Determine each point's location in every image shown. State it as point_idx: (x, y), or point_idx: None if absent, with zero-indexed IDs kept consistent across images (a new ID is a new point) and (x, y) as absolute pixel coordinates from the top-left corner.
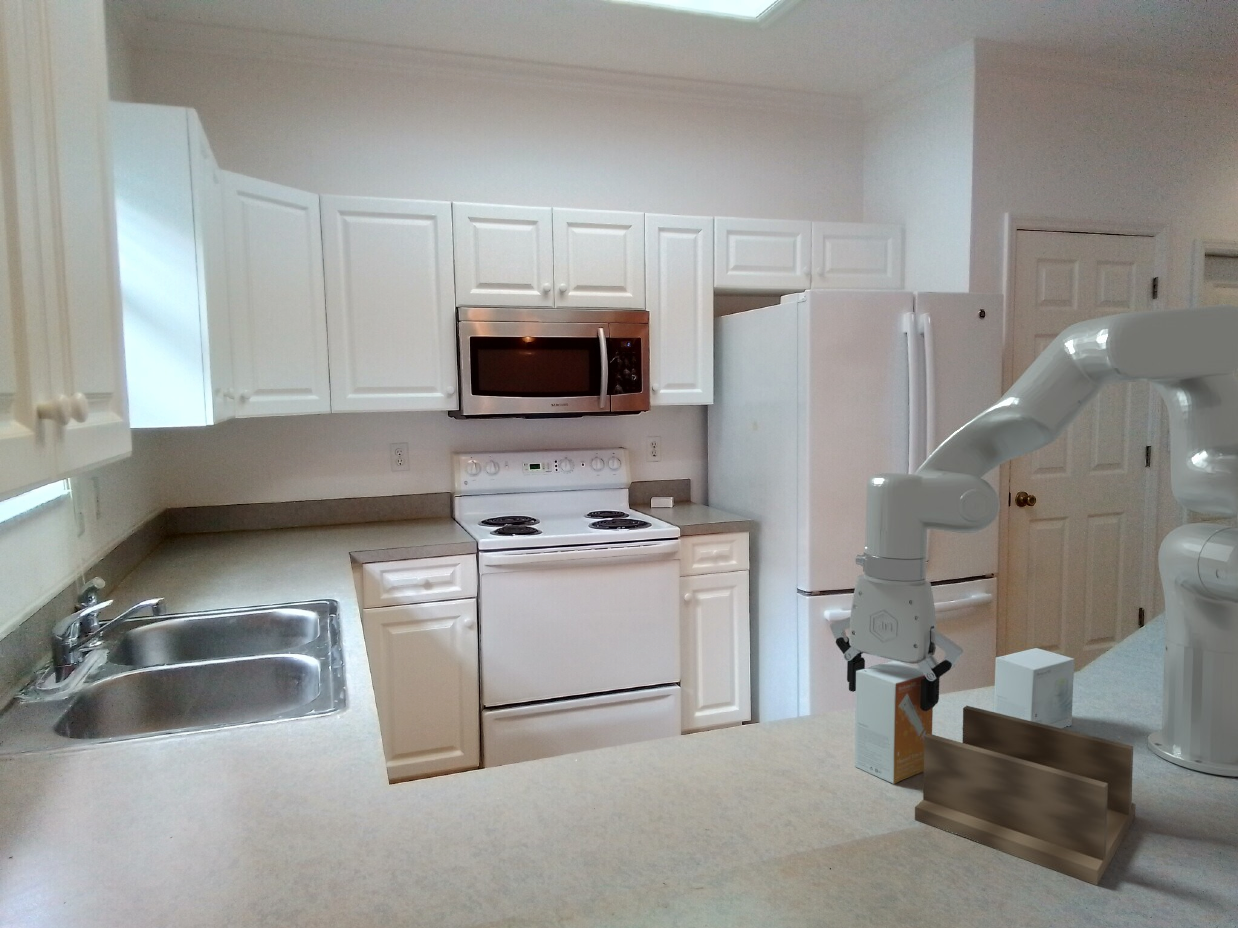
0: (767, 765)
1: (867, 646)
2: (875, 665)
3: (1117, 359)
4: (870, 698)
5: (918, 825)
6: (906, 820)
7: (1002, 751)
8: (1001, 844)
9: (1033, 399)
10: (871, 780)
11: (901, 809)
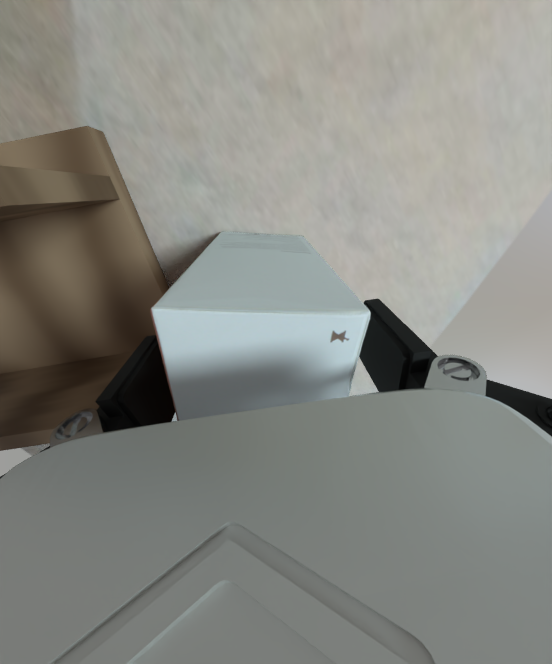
0: (437, 71)
1: (366, 431)
2: None
3: None
4: (279, 272)
5: (81, 114)
6: (106, 112)
7: (111, 377)
8: None
9: None
10: (253, 213)
11: (146, 151)
